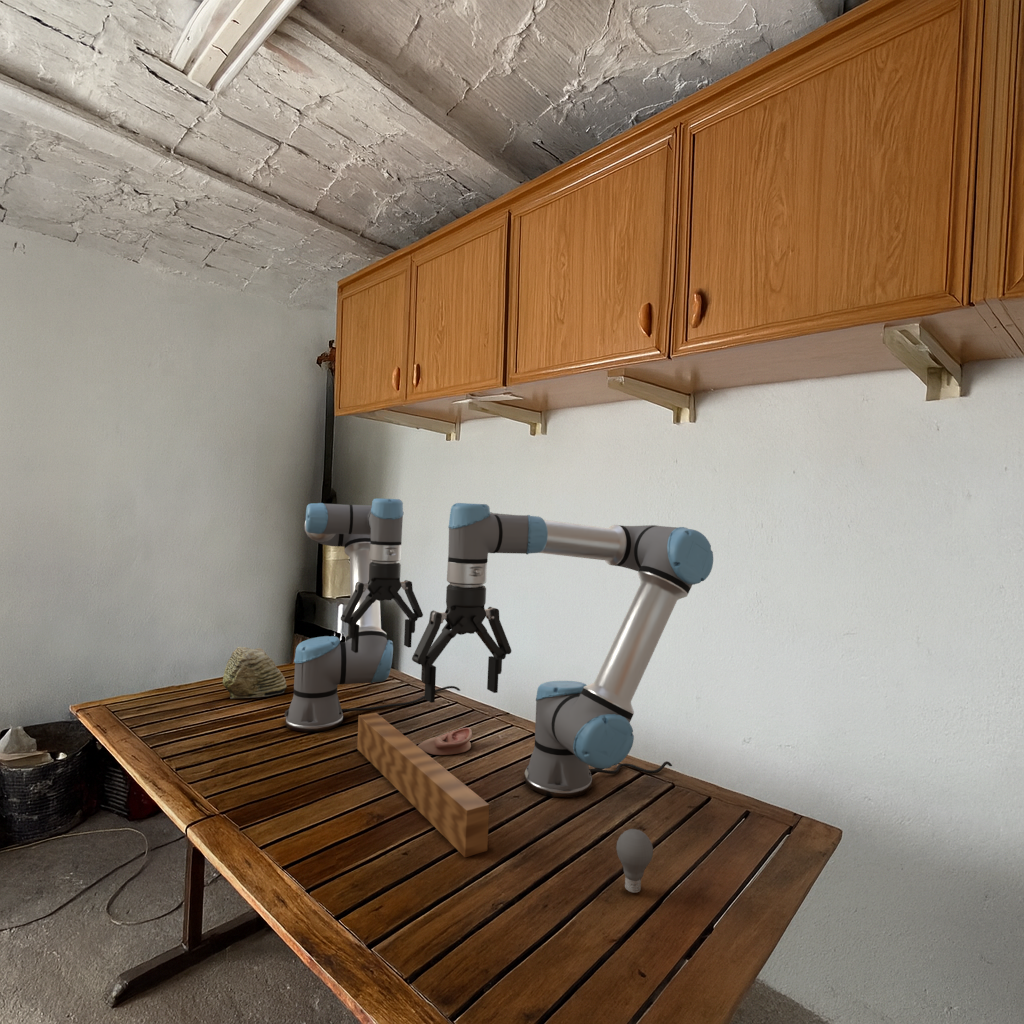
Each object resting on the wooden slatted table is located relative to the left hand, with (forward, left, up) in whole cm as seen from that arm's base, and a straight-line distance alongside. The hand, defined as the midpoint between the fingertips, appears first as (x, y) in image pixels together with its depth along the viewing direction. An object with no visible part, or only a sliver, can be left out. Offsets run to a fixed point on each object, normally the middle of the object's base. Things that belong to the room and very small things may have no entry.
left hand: (381, 648), depth 154 cm
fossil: (-4, -64, -27) cm, 70 cm away
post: (+6, +19, -27) cm, 34 cm away
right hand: (+12, +38, 0) cm, 40 cm away
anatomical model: (-16, +7, -27) cm, 32 cm away
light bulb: (+5, +72, -27) cm, 77 cm away
